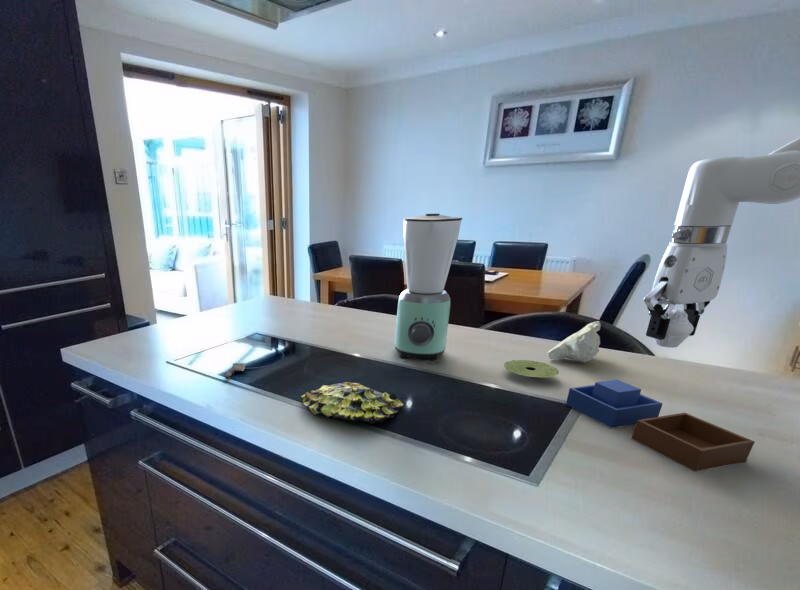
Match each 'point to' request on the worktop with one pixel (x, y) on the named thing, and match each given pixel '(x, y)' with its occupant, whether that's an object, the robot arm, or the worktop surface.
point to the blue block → (616, 393)
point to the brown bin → (692, 441)
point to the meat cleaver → (235, 369)
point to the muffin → (676, 329)
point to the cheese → (578, 344)
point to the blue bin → (611, 408)
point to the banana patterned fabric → (352, 402)
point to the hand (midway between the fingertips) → (669, 335)
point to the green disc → (531, 368)
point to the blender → (426, 285)
